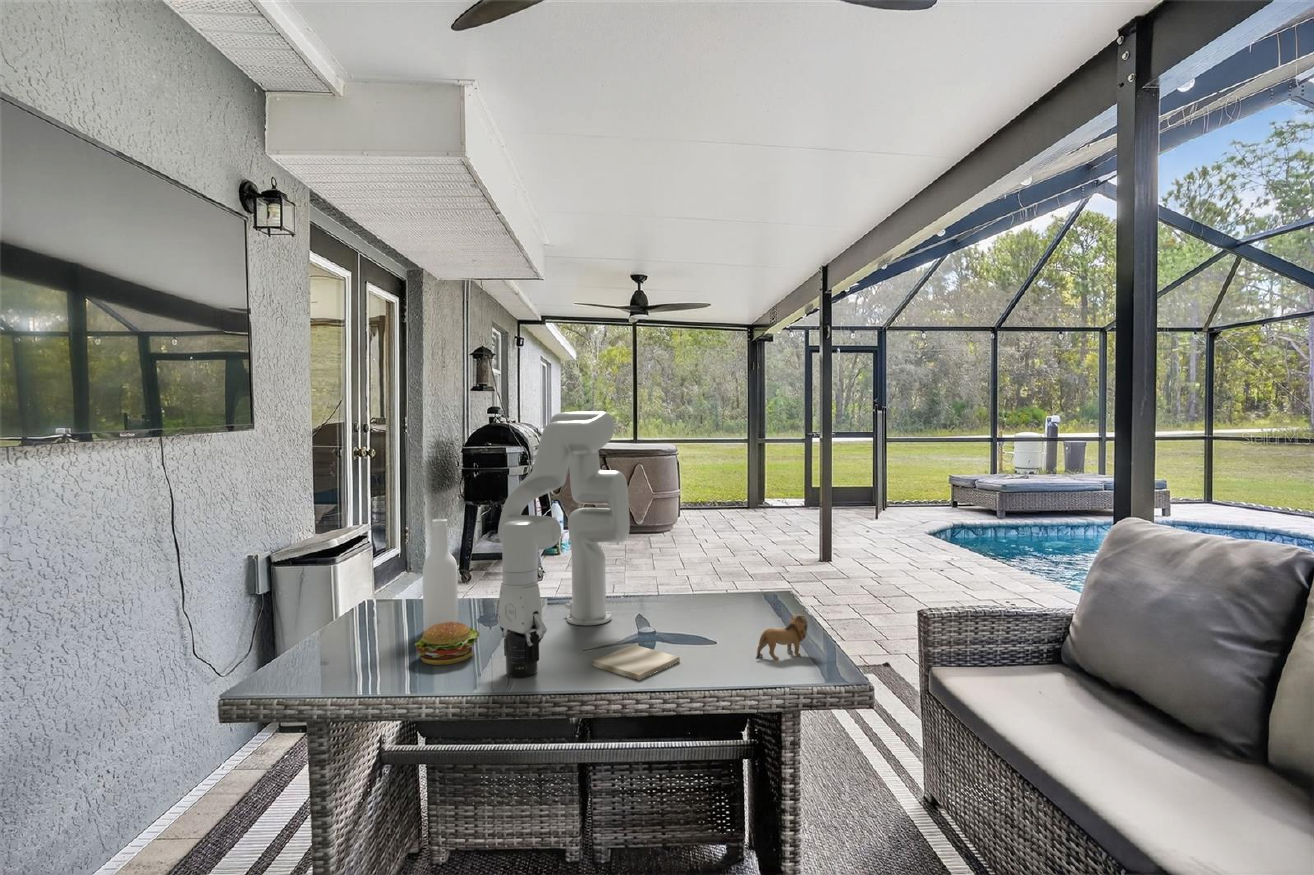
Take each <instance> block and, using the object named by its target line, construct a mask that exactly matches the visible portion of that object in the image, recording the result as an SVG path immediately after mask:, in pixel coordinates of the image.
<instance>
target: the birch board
mask: <svg viewBox="0 0 1314 875" xmlns="http://www.w3.org/2000/svg"><path fill="white" fill-rule="evenodd" d="M676 662H679V663H680V656H679V655H675V654H670V653H666V652H664V651H663V652H662V651H659V650H656V649H652V648H648V647H644V646H641V645H636V644H632V645H630V646H627V647H624V648H622V649H619V650H616V651H615V652H614V651H613V652H611V653H609V654H606V655H604V656H602V657H598V658H596V659H594V660H592V667H595V668H598V669H601V670H604V671H607V672H610V673H614V674H617V675H620V676H623V677H626V676H628V677H627V678H629V677H631V678H630V679H632V678H634V679H633V680H635V679H637V680H636V681H641V680H643V679H642V678H644V677H646V676H648V677H650V676H651V675H650V674H652V675H654V674H653V673H654V672H656V671H659V672H661V671H663V670H662V669H664V668H666V667H668V668H670V667H671V666H670V665H672V664H674V663H676ZM669 666H670V667H669ZM672 666H673V665H672ZM666 669H667V668H666ZM660 670H661V671H660ZM664 670H665V669H664ZM649 675H650V676H649ZM646 678H647V677H646ZM640 679H641V680H640ZM644 679H645V678H644Z"/></svg>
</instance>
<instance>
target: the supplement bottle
mask: <svg viewBox="0 0 1314 875" xmlns="http://www.w3.org/2000/svg"><path fill="white" fill-rule="evenodd" d="M531 629H532V628H531ZM531 629H530V630H531ZM530 635H531V638H532V637H533V636H534V634H533V632H532V633H530ZM526 645H528V644H527V640H526V637H525V634H520V633H517V632H513V631H510V630H509V631H508V632H507V634H506V636H505V649H506V656H505V672H506V675H507V676H509V677H510V678H514V679H520V678H521V679H522V678H523V679H524V678H527V677H528V678H529V677H531V676H533V675H535V674H536V673H537V672H538V667H539V666H538V664H539V663H538V661H536V662H534V663H531V664H526Z"/></svg>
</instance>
